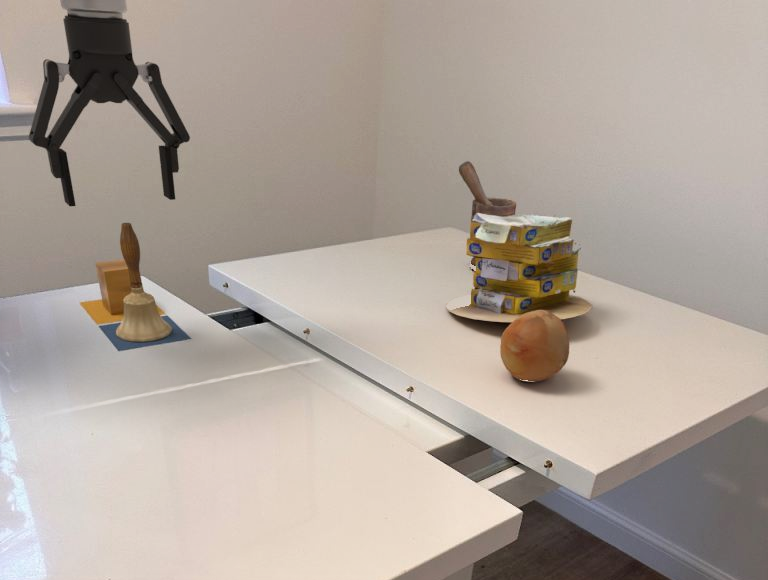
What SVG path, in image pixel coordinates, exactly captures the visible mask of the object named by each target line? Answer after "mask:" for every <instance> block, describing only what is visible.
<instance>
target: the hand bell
mask: <svg viewBox="0 0 768 580" xmlns="http://www.w3.org/2000/svg"><path fill="white" fill-rule="evenodd" d="M133 228H134V227H133V225H132V223H131V222H122V223H121V228H120V234H119V246H120V251H121V255H122V257H123V260H125V262H126V264H127V267H128V270H129V277H130V282H131V283H130V286H131V290H132V292H131V294H129V295H127V296H126V297H125V298H124V315H123V320H122V321H120V322H121V324H120V325H119V326H118V328H117V330H116V335H117V337H119V338H120V339H122V340H125V341H130V342H150V341H155V340H159V339H162V338H165V337H167V336H168V335H169V334H171V332H172V328H171V326H170V325H169V324H168V323H167V322H166V321H164V320H163V318H162V317H161V316H162V315H160V314H159V311H158V309H157V306H158V305H157V304H156V303H157V302H156V299H155V297H154V295H152V294H150V293H148V292H146V291H145V290H144V286H143V282H142V277H141V270H140V262H141V248H140V242H139V239H138V236H137V234H136V233H135V230H134V229H133ZM156 305H157V306H156Z"/></svg>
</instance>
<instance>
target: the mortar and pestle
mask: <svg viewBox="0 0 768 580" xmlns="http://www.w3.org/2000/svg"><path fill="white" fill-rule="evenodd" d="M458 172H459V175H460V177H461V179H462V180H463V182H464V183H465V184H466V186H467V187H468V189H469V191H470V192H471V194H472V195H473V197H474V199H473V200H472V207H471V216H470V222H471V221H472V220H473V218H474V216H475V215H476V213H481V214H486V215H494V216H501V217H506V216H507V217H508V215H510V216H512V215H516V209H517V202H516V201H514V200H512V199H508V198H502V197H501V198H500V197H487V195H486V193H485V191H484V189H483V186H482V184H481V181H480V178H479V176H478V173H477V171H476V167H475V166H474V165H473V163H472V162H471V161H469V160H466V161H465V162H463V163H461V164H460V165H459V166H458ZM470 262H471V264H472V265H474V266H476V264H475V258H474V257H472V258H471V260H470Z"/></svg>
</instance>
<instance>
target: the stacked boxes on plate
mask: <svg viewBox="0 0 768 580" xmlns="http://www.w3.org/2000/svg"><path fill="white" fill-rule="evenodd" d="M572 224H573V218H571V217H570V216H565V217H564V216H563V217H560V216H557V215H544V214H543V215H542V214H539V212H538V211H537V212H536V213H535V215H534V213H530V214H521V213H518V214H515V215H512V216H510V215H508V217H507V216H506V217H501V216H494V215H486V214H481V213H476V215H475V216H474V218H473V220H472V221H471V220H470V229H469V230H470V232H469V236H468V237H467V238H466V256H469V257H472V258H473V257H474V258H475V264H476V271H473V272H472V286H473V288H472V289H471V291H470V294H471V304H470V305H469V306H465V307H460V308H456V309H453V310H448V309H447V311H448V312H450V313H452V314H453V315H456V316H458V317H463V318H467V319H472V320H479V321H484V322H485V321H486V322H496V323H497V322H498V323H512V322H513V321H514V320H515V319H517V318H518V317H520V316H521V315H523V314H525V313H528V312H531V311H536V310H548V311H550V312H551V313H553V314H554V315H556V316H557V317H558V318H560V320H565V319H571V318H575V317H578V316H579V317H580V316H582V315H585V314H586V313H587V312H589V311H591V310H592V309H593V306H592V305H593V304H592V303H591V302H590V301H588V300H586V299H584V298H582V297H579V296H576V295H573V294H570V291H573V293H576V287H577V282H578V281H577V279H578V272H579V269H578V263H579V261H578V260H579V251H580V250H581V249H582V247H579V248H578V249H577V250H573V248H574V244H575V245H577V242H574V241H575V239H572V238H571V237H570V236H571V230H572ZM580 245H581V244H580V243H579V244H578V246H580Z"/></svg>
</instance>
